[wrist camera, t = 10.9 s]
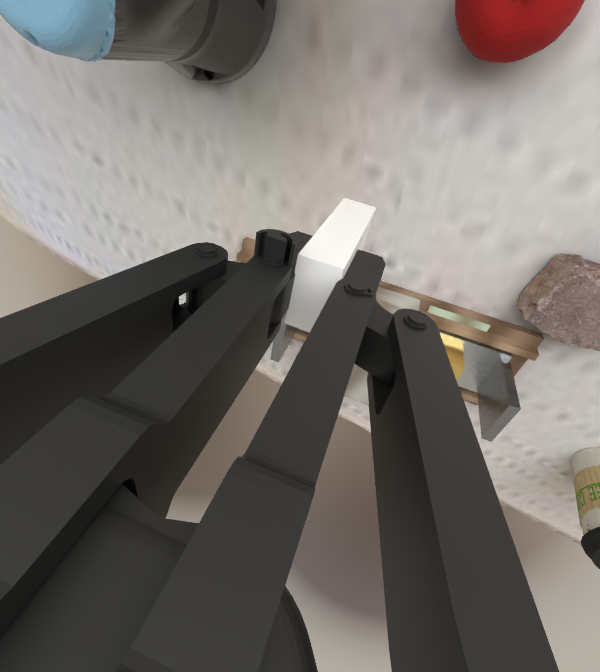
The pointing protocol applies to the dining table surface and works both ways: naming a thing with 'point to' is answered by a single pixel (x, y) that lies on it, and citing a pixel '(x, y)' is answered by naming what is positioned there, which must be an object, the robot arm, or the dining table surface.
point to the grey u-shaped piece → (461, 375)
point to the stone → (565, 301)
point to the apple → (512, 26)
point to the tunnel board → (446, 319)
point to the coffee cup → (588, 499)
